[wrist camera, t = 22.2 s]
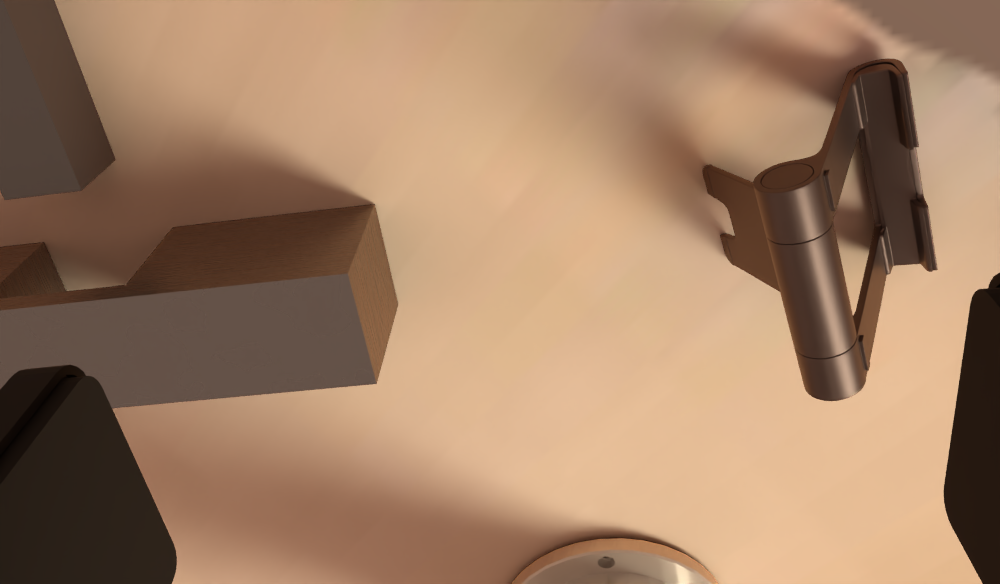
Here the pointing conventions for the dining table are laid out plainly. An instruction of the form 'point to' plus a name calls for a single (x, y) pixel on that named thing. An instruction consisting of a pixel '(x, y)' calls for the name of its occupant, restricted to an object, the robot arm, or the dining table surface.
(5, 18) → the dark grey long bar
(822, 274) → the portable electronic device stand
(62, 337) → the grey bridge bar
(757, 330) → the dining table surface
